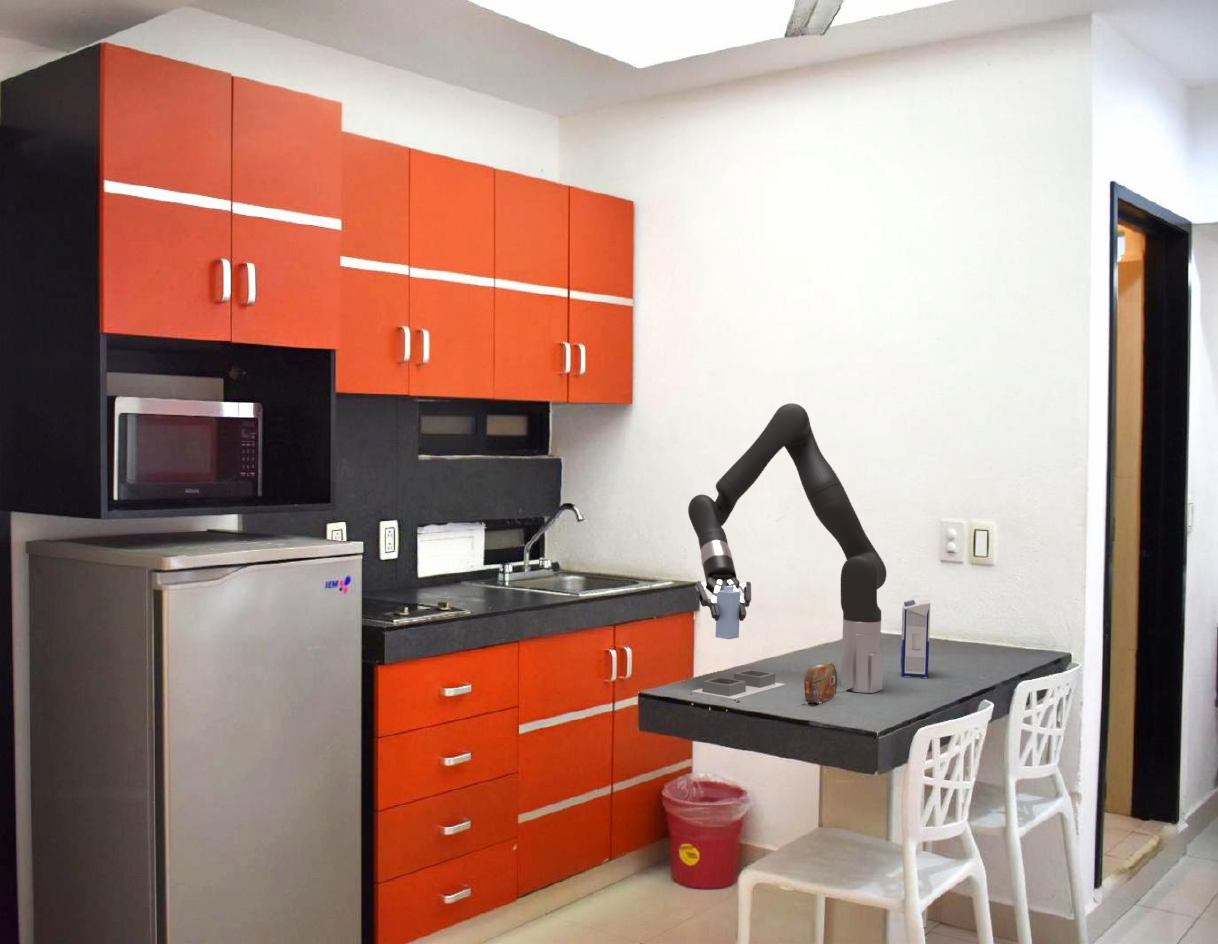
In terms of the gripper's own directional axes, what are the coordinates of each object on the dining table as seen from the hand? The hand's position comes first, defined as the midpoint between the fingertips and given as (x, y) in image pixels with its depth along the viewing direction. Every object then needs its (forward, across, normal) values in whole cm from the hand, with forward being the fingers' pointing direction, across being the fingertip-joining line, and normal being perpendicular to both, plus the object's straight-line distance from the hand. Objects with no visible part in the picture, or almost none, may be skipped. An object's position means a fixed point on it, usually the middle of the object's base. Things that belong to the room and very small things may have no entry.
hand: (730, 618), depth 283 cm
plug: (+2, 0, +5) cm, 5 cm away
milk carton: (-3, +58, +29) cm, 65 cm away
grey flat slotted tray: (+10, +4, +16) cm, 19 cm away
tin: (+18, +21, +8) cm, 28 cm away
